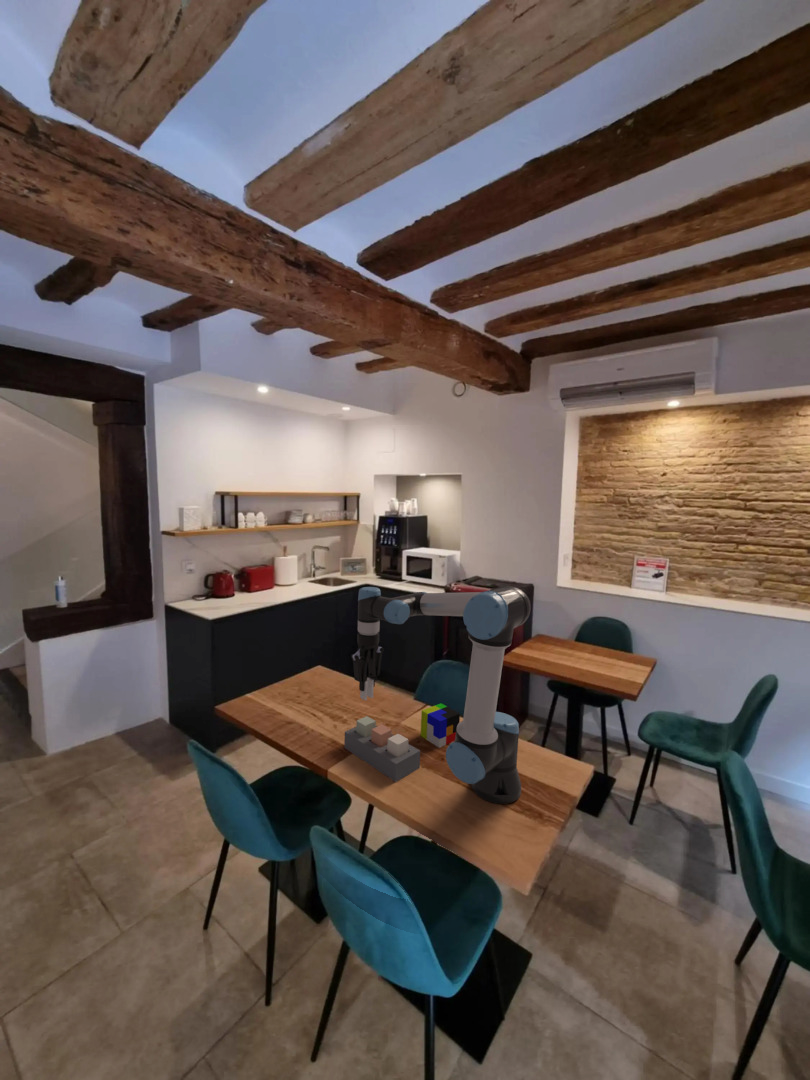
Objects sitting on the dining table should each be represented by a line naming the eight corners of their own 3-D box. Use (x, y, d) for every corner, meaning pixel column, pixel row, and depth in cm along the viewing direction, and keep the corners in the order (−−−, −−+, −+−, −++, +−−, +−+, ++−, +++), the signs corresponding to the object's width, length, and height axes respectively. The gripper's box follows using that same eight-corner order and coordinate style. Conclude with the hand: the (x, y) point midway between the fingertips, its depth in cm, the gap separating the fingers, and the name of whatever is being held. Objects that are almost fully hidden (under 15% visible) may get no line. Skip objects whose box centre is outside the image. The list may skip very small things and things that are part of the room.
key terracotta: (390, 750, 154) (391, 729, 154) (380, 756, 151) (381, 734, 150) (381, 745, 158) (382, 724, 157) (370, 750, 154) (371, 729, 154)
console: (419, 767, 149) (420, 750, 149) (395, 782, 142) (396, 764, 141) (368, 736, 168) (368, 721, 167) (344, 747, 160) (344, 731, 159)
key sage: (375, 741, 160) (375, 721, 159) (364, 746, 157) (365, 725, 156) (366, 736, 163) (366, 716, 163) (356, 740, 160) (356, 720, 159)
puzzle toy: (439, 748, 162) (440, 721, 161) (420, 736, 169) (421, 710, 168) (458, 739, 168) (459, 713, 167) (439, 727, 176) (441, 703, 175)
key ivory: (407, 761, 149) (408, 739, 148) (397, 766, 145) (397, 744, 145) (397, 754, 152) (398, 733, 151) (387, 760, 149) (387, 738, 148)
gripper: (377, 625, 164) (375, 688, 166) (344, 633, 153) (342, 700, 156) (391, 630, 159) (389, 695, 161) (358, 639, 148) (356, 708, 150)
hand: (366, 697), depth 158 cm, fingers open, 2 cm apart
